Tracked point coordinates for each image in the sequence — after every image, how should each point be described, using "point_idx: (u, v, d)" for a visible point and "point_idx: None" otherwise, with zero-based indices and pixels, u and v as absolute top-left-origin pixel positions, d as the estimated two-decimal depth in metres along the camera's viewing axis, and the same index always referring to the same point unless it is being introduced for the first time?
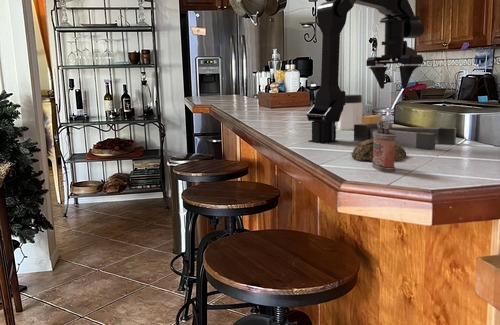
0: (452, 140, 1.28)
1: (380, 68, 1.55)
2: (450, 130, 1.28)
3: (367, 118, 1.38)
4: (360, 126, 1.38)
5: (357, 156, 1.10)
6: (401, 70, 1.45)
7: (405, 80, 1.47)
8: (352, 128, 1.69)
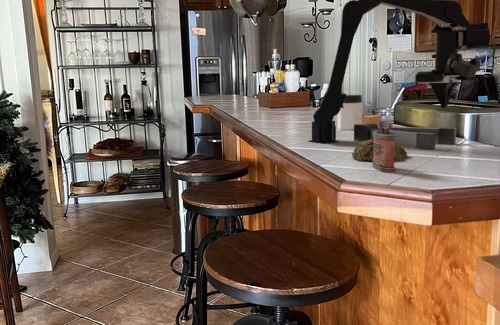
0: (452, 140, 1.28)
1: None
2: (450, 130, 1.28)
3: (367, 118, 1.38)
4: (360, 126, 1.38)
5: (358, 156, 1.10)
6: None
7: (440, 98, 1.34)
8: (352, 128, 1.69)
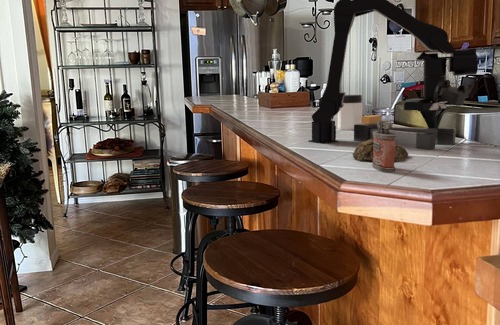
0: (451, 140, 1.27)
1: None
2: (449, 130, 1.27)
3: (367, 118, 1.38)
4: (360, 126, 1.38)
5: (358, 156, 1.10)
6: None
7: (429, 125, 1.33)
8: (352, 128, 1.69)
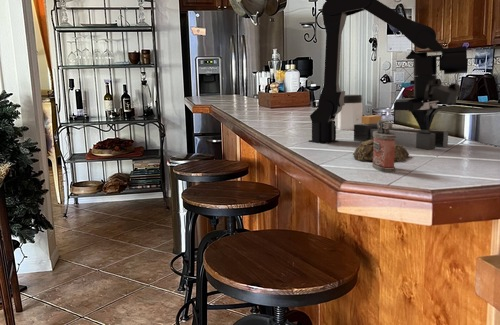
0: (441, 143, 1.23)
1: None
2: (439, 132, 1.23)
3: (367, 118, 1.38)
4: (360, 126, 1.38)
5: (359, 156, 1.10)
6: None
7: (421, 125, 1.30)
8: (352, 128, 1.69)
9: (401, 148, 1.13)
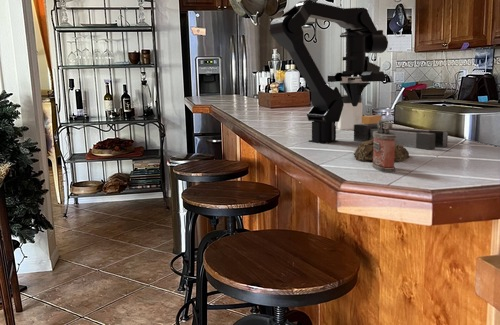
0: (441, 143, 1.23)
1: None
2: (439, 133, 1.23)
3: (367, 118, 1.38)
4: (360, 126, 1.38)
5: (359, 156, 1.10)
6: (351, 87, 1.42)
7: (356, 97, 1.43)
8: (352, 128, 1.69)
9: (402, 148, 1.13)
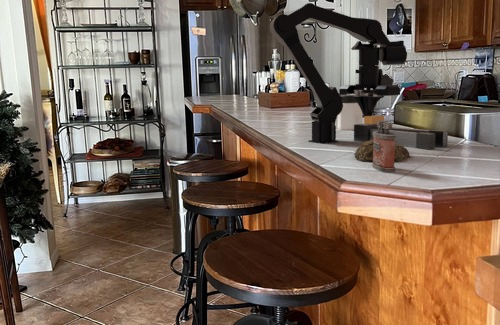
0: (441, 143, 1.23)
1: None
2: (439, 133, 1.23)
3: (370, 118, 1.37)
4: (360, 126, 1.38)
5: (360, 156, 1.10)
6: (365, 101, 1.38)
7: (369, 111, 1.40)
8: (352, 128, 1.69)
9: (402, 148, 1.13)
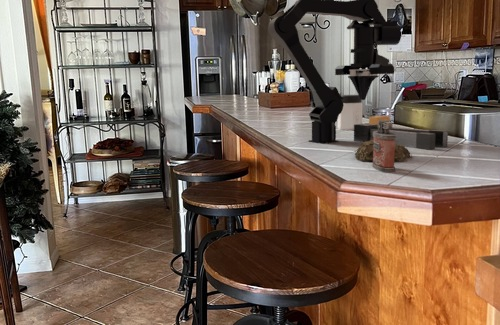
0: (441, 143, 1.23)
1: None
2: (439, 133, 1.23)
3: (375, 119, 1.36)
4: (360, 126, 1.38)
5: (361, 156, 1.10)
6: (359, 80, 1.38)
7: (364, 91, 1.40)
8: (352, 128, 1.69)
9: (403, 148, 1.12)
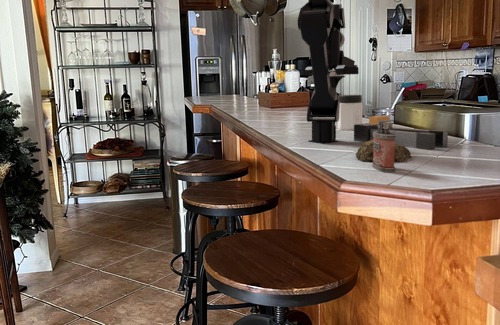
0: (441, 143, 1.23)
1: None
2: (439, 133, 1.23)
3: (375, 119, 1.36)
4: (360, 126, 1.38)
5: (361, 156, 1.09)
6: None
7: None
8: (352, 128, 1.69)
9: (404, 148, 1.12)
